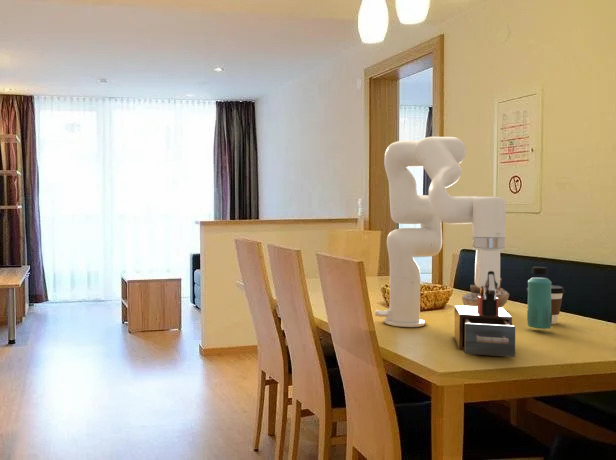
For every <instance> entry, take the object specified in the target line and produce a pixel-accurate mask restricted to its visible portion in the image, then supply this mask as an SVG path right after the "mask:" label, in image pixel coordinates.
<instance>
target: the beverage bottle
mask: <svg viewBox="0 0 616 460" xmlns="http://www.w3.org/2000/svg"><path fill="white" fill-rule="evenodd" d="M531 274H532V275H548V268H547V267H546V266H545V267H544V266H533V267H532V268H531ZM551 285H552V281H551V280H550V279H549V278H547V277H538V276H537V277H535V276H534V277H531V278H530V279H528V280H527V288H528V291H527V302H526V303H527V308H526V309H527V311H526V312H527V316H526V317H527V320H526V322H527V326H528V327H529V328H533V329H540V330H541V329H542V330H547V329H549V330H550V329H551V328H552V325H553V324H551V323H552V313H551V310H552V309H551V307H552V304H551Z"/></svg>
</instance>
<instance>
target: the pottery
mask: <svg viewBox="0 0 616 460" xmlns="http://www.w3.org/2000/svg"><path fill="white" fill-rule="evenodd" d="M502 280H503V279H502V278H501V277H500V286H499V288H497V289H496V297H497V298H498V299H499V308H503V307H504V306H505V305H506V304H507V302H508V300H509V297H510V293H509V292H508V291H506V290H505V289H504V288H502V287H501V284H502ZM469 290H470V292H468V293H466V294H464V295H463V296H462V297H461V301H462V303H463V306H477V296H480V288H479V287H477V286H476V285H475V284H470V289H469Z"/></svg>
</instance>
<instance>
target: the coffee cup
mask: <svg viewBox="0 0 616 460" xmlns="http://www.w3.org/2000/svg"><path fill="white" fill-rule="evenodd" d="M526 291H527V292H528V287H526ZM564 294H566V290H565V289H564V287H563V286H560V285H554V284H551V304H552V307H551V309H552V310H551V313H552V323H551V325H556V324H557V322H558V319H559V315H560V312H561V308H562V301H563V295H564Z"/></svg>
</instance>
